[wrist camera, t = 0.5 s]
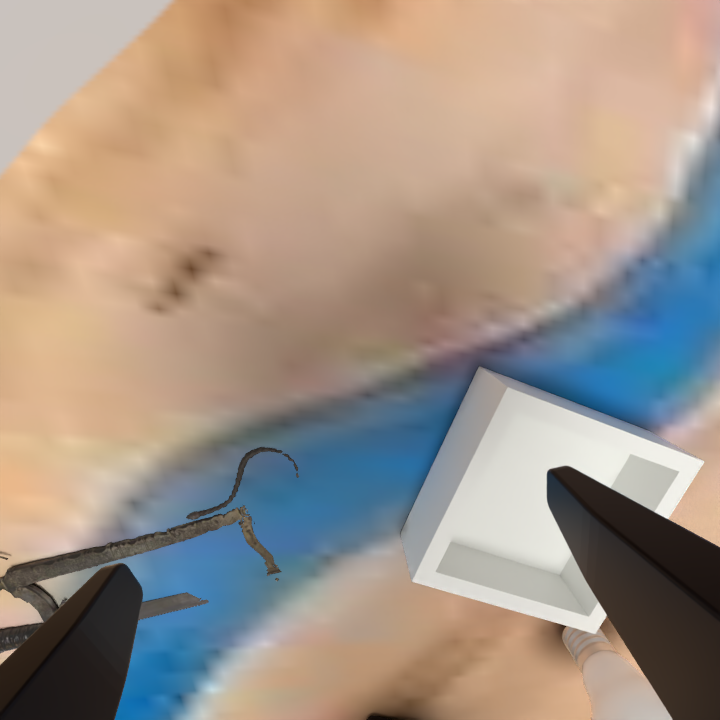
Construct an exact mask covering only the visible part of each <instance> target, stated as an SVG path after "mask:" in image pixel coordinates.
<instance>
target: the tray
mask: <svg viewBox="0 0 720 720" xmlns="http://www.w3.org/2000/svg"><path fill="white" fill-rule="evenodd" d="M704 462H705V461H703V460H701V459H699V458H697V457H696V456H694V455H692V454H690V453H688V452H686V451H685V450H683V449H681V448H679V447H677V446H676V445H674V444H672V443H670V442H668V441H666V440H665V439H663V438H661V437H659V436H657V435H656V434H654V433H652V432H650V431H648V430H646V429H643V428H641V427H638V426H635V425H633V424H630V423H627V422H625V421H622V420H620V419H617V418H614V417H612V416H609V415H606V414H604V413H601V412H599V411H596V410H593V409H591V408H588V407H585V406H583V405H580V404H578V403H575V402H572V401H570V400H567V399H565V398H562V397H559V396H557V395H554V394H551V393H549V392H546V391H544V390H541V389H538V388H536V387H533V386H530V385H528V384H525V383H523V382H520V381H517V380H515V379H512V378H509V377H507V376H504V375H502V374H499V373H496V372H494V371H491V370H489V369H486V368H483V367H481V366H479V367H478V369H477V371H476V374H475V376H474V378H473V380H472V382H471V384H470V386H469V388H468V391H467V393H466V395H465V397H464V399H463V401H462V403H461V405H460V408H459V410H458V412H457V414H456V416H455V418H454V420H453V422H452V425H451V427H450V429H449V431H448V433H447V435H446V437H445V439H444V442H443V444H442V446H441V448H440V450H439V452H438V454H437V456H436V459H435V461H434V463H433V465H432V467H431V469H430V471H429V473H428V476H427V478H426V480H425V482H424V484H423V486H422V488H421V490H420V493H419V495H418V497H417V499H416V501H415V503H414V505H413V507H412V509H411V512H410V514H409V516H408V518H407V520H406V522H405V524H404V526H403V529H402V531H401V533H400V535H401V539H402V543H403V548H404V552H405V556H406V560H407V564H408V568H409V573H410V577H411V581H412V582H414V583H418V584H421V585H425V586H429V587H432V588H436V589H439V590H443V591H446V592H450V593H453V594H457V595H460V596H464V597H467V598H471V599H474V600H478V601H481V602H485V603H488V604H492V605H495V606H499V607H502V608H506V609H509V610H513V611H516V612H520V613H523V614H527V615H530V616H534V617H537V618H541V619H544V620H548V621H551V622H555V623H558V624H562V625H565V626H569V627H572V628H576V629H579V630H583V631H586V632H590V633H593V634H596V632H597V630H598V629H599V627H600V626H601V624H602V623H603V621H604V619H605V618H606V616H607V614H606V613H605V611H604V610H603V608H602V607H601V605H600V603H599V602H598V600H597V599H596V597H595V595H594V594H593V592H592V590H591V589H590V587H589V585H588V584H587V582H586V580H585V578H584V577H583V575H582V573H581V571H580V569H579V567H578V565H577V563H576V561H575V559H574V557H573V555H572V553H571V551H570V549H569V547H568V545H567V543H566V541H565V539H564V537H563V535H562V533H561V531H560V529H559V527H558V525H557V523H556V521H555V519H554V517H553V515H552V513H551V511H550V509H549V506H548V503H547V471H548V470H549V469H551V468H556V467H560V466H570V467H572V468H574V469H576V470H578V471H580V472H582V473H584V474H585V475H587V476H589V477H591V478H593V479H595V480H597V481H598V482H600V483H602V484H604V485H606V486H608V487H609V488H611V489H613V490H615V491H617V492H619V493H621V494H622V495H624V496H626V497H628V498H630V499H632V500H633V501H635V502H637V503H639V504H641V505H643V506H645V507H646V508H648V509H650V510H652V511H654V512H656V513H657V514H659V515H661V516H663V517H665V518H667V519H668V518H669V517H670V515H671V514H672V512H673V510H674V509H675V507H676V506H677V504H678V503H679V501H680V499H681V498H682V496H683V495H684V493H685V492H686V490H687V488H688V487H689V485H690V484H691V482H692V480H693V479H694V477H695V476H696V474H697V473H698V471H699V469H700V468H701V466H702V465H703V463H704Z"/></svg>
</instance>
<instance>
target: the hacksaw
mask: <svg viewBox="0 0 720 720" xmlns="http://www.w3.org/2000/svg"><path fill="white" fill-rule="evenodd" d="M267 451H271V452H277V453H282V451H281V450H277V449H274V448H265V447H260V448H257V449H254V450H251V451H250V452H248V453H246V455H245V457H243V458H242V460H241V462H240V465H239V468H238V473H237V478H236V484H235V485H234V489H233V491H232V495H230V496H229V500H227V501H225V502H224V503H222V504H220V505H219V506H217V507H213V508H210V509H207V510H203V511H199V512H192V513H190V514H189V515H188V516H187V517H186V518H188V519H192V520H193V519H198V518H199V517H200V516H204V515H206V514H209V513H212V512H214V511H216V510H219V509H221V508H222V507H223V508H224V507H226V506H227V504H229V503H230V502H231V501H232V500H233V498H234V497H235V494H236V492H237V491H238V487H239V485H240V481H241V480H242V475H243V472H244V468H245V465H246V463H247V461H248V460H249V459H250V458H252V457H253V456H254V455H256V454H258V453H260V452H267ZM283 455H284V456H286V457H288V460H290V461H293V462H294V460H293V459H291V458H290V457H289V455H288V454H283ZM294 467H295V469H296V471H298V467H297V465H296V463H295V462H294ZM296 476H297V478H298V477H299V476H298V473H297V474H296ZM243 508H244V510H243ZM245 510H246V508H245V505H243V507H240V510H239V509H238V508H236V509H232V511H229V512H227V513H226V514H224V515H222V514H218V515H214V516H213V517H209V518H205V519H201V520H197V521H193V522H190V523H186V524H183V525H179V526H176V527H174V528H171V530H170V529H169V528H168V529H167V532H155V533H154V534H148V535H144V536H140V537H137V538H136V539H126V540H123V541H119V542H116V543H111V542H110V543H108V544H107V545H106V546H102V547H94V548H90V549H84V550H81V551H77V552H74V553H68V554H66V555H61V556H57V557H54V558H49V559H44V560H40V561H35V562H31V563H28V564H24V565H20V566H14V567H13V568H9V569H8V570H7V572H6V574H5V576H4V577H3V578H2V579H0V590H2V589H4V590H6V591H8V592H10V593H11V594H12V595H13V596H14V598H21V599H22V600H24V601H26V602H27V603H28V602H29V603H30V604H31V605H32V606H33V607H34V608H35V609H36V610H37V611H38V612H39V614H40V616H41V617H42V619H43V621H44V622H46V621H47V620H48V619H49V618H50V617H51V616H52V615H53V614H54V613H55V612H56V611H57V610H58V608H57V606H56V604H55V603H54V601H53V600H52V599H51V598H50V597H49V596H48V595H47V594H46V593H44V592H43V591H42V590H41V589H39V588H38V587H36V586H34V585H32V583H35V582H38V581H42V580H45V579H49V578H53V577H57V576H60V575H64V574H68V573H72V572H75V571H80V570H83V569H86V568H91V567H93V566H98V565H100V564H104V563H108V562H111V561H114V560H118V559H122V558H126V557H129V556H133V555H136V554H142V553H144V552H147V551H151V550H155V549H158V548H161V547H164V546H167V545H171V544H174V543H178V542H181V541H185V540H187V539H191V538H194V537H197V536H199V535H202V534H204V533H206V532H208V531H213V530H217V529H219V528H220V527H222V526H226V525H231V524H233V523H234V522H236V521H237V520H241V521H240V522H239V525H241V528H243V530H242V532H243V534H244V537H245V539H246V542H247V543H248V544H249V545H250V546H251V547H252V548H253V549H254V550H255V551H257V552H258V553H259V554H260V555H261V556H262V557H263V558H264V559H265V560H266V562H265V565H266V566H267V568H268V569H267V571H268V573H267V576H269V575H270V574H274V573H279V572H281V571H280V570H279V568H276V567H277V566H278V565H276V564H274V560H273V556H272V555H271V554H270V553H269V552H268V551H267V550H266V549H265V548H264V547H263V546H262V545H261V544H260V543H259V542H258V540H257V538H256V537H255V535H254V532H253V528H252V525H251V524H252V517H251V516H249V515H250V514H246V513H245ZM241 513H242V514H243V515H242V514H241ZM247 513H248V510H247ZM245 516H249V517H245ZM242 517H243V520H244V521H243V522H242ZM241 522H242V523H241ZM243 523H244V524H243ZM254 524H255V523H254ZM0 558H3V559H6V560H7V559H8V558H5V557H1V556H0ZM273 565H274V566H275V567H274V566H273ZM275 580H276V581H278V580H279V579H278V578H276V579H275ZM200 599H201V598H200ZM200 599H199V598H197V597H195V596H193V595H191V594H189V593H187V592H186V593H182V594H177V595H173V596H168V597H164V598H159V599H155V600H150V601H146V602H142V604H141V609H140V614H139V619H138V620H140V619H143V618H145V619H146V618H147V617H148V618H149V617H153V616H156V615H160V614H161V615H162V614H165V613H169V612H172V611H173V612H174V611H178V610H181V609H185V608H186V609H187V608H190V607H194V606H197V605H199V606H200V605H202V604H206V603H208V600H201V601H200ZM64 603H65V602H64V601H63V600H62V602H61V604H60V607H61V606H62V605H63V604H64ZM60 607H59V608H60ZM42 624H43V623H39V624H32V625H26V626H20V627H13V628H7V629H0V653H2V652H4V651H7V650H12V649H16V648H18V647H19V646H21V645H22V644H23V643H24V642H25V641H26V640H27V639H28V638H29V637H30V636H31V635H32V634H33V633H34V632H35V631H36V630H37V629H38V628H39V627H40V626H41V625H42Z"/></svg>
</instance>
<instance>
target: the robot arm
mask: <svg viewBox="0 0 720 720" xmlns="http://www.w3.org/2000/svg"><path fill="white" fill-rule="evenodd" d="M547 503H548V506H549V509H550V511H551V513H552V515H553V517H554V519H555V521H556V523H557V525H558V527H559V529H560V531H561V533H562V535H563V537H564V539H565V541H566V543H567V545H568V547H569V549H570V551H571V553H572V555H573V557H574V559H575V561H576V563H577V565H578V567H579V569H580V571H581V573H582V575H583V577H584V578H585V580H586V582H587V584H588V585H589V587H590V589H591V590H592V592H593V594H594V595H595V597H596V599H597V600H598V602H599V603H600V605H601V607H602V608H603V610H604V611H605V613H606V614H607V616H608V618H609V619H610V621H611V622H612V624H613V626H614V627H615V629H616V630H617V632H618V634H619V635H620V637H621V638H622V640H623V641H624V643H625V645H626V646H627V648H628V649H629V651H630V653H631V654H632V656H633V657H634V659H635V660H636V662H637V664H638V665H639V667H640V668H641V670H642V672H643V673H644V675H645V676H646V678H647V680H648V681H649V683H650V684H651V686H652V687H653V689H654V691H655V692H656V694H657V695H658V697H659V699H660V700H661V702H662V703H663V705H664V707H665V708H666V710H667V711H668V713H669V714H670V716H671V718H672V719H673V720H720V547H718V546H717V545H715V544H713V543H711V542H709V541H707V540H706V539H704V538H702V537H700V536H698V535H696V534H694V533H693V532H691V531H689V530H687V529H685V528H683V527H682V526H680V525H678V524H676V523H674V522H672V521H670V520H669V519H667V518H665V517H663V516H661V515H659V514H657V513H656V512H654V511H652V510H650V509H648V508H646V507H645V506H643V505H641V504H639V503H637V502H635V501H633V500H632V499H630V498H628V497H626V496H624V495H622V494H621V493H619V492H617V491H615V490H613V489H611V488H609V487H608V486H606V485H604V484H602V483H600V482H598V481H597V480H595V479H593V478H591V477H589V476H587V475H585V474H584V473H582V472H580V471H578V470H576V469H574V468H572V467H570V466H560V467H556V468H551V469H549V470H548V471H547ZM142 599H143V592H142V587H141V585H140V584H139V582H138V581H137V579H136V578H135V576H134V575H133V574H132V572H131V571H130V569H129V568H128V566H127V565H125V564H123V563H118V564H114V565H109V566H105V567H103V568H101V569H100V570H99V571H98V572H96V573H95V574H94V575H93V576H92V577H91V578H90V579H89V580H88V581H87V582H86V583H85V584H84V585H83V586H82V587H81V588H80V589H79V590H78V591H77V592H76V593H75V594H74V595H73V596H72V597H70V598H69V599H68V600H67V601H66V602H65V603H64V604H63V605H62V606H61V607H60V608H59V609H58V610H57V611H56V612H55V613H54V614H53V615H52V616H51V617H50V618H49V619H48V620H47V621H46V622H44V623H43V624H42V625H41V626H40V627H39V628H38V629H37V630H36V631H35V632H34V633H33V634H32V635H31V636H30V637H29V638H28V639H27V640H26V641H25V642H24V643H23V644H22V645H21V646H19V647H18V648H17V649H16V650H15V651H14V652H13V653H12V654H11V655H10V656H9V657H8V658H7V659H6V660H5V661H4V662H3V663H2V664H1V665H0V720H114V719H115V716H116V712H117V709H118V706H119V702H120V699H121V695H122V692H123V688H124V684H125V681H126V676H127V672H128V668H129V663H130V658H131V653H132V648H133V644H134V639H135V634H136V629H137V624H138V619H139V614H140V609H141V604H142ZM367 720H391V719H387V718H383V717H378V716H371V717H369V718H368V719H367Z"/></svg>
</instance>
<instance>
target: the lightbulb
mask: <svg viewBox="0 0 720 720" xmlns="http://www.w3.org/2000/svg"><path fill="white" fill-rule="evenodd" d="M562 640H563V642H564V644H565V646H566V648H567V649H568V651H569V653H570V654H571V655H572V658H573V659H574V661H575V662H576V664H577V666H578V667H579V670H580V671H581V673H582V678H583V683H584V686H585V689H586V692H587V694H588V697H589V700H590V704H591V720H673V719H672V718H671V716H670V714H669V713H668V711H667V710H666V708H665V707H664V705H663V703H662V702H661V700H660V699H659V697H658V695H657V694H656V692H655V691H654V689H653V687H652V686H651V684H650V683H649V681H648V680H647V678H646V676H644V675H643V674H642V673H641V672H639V671H638V670H637V669H636V668H635V667H634V666H633V665H632V664H631V663H630V662H629V661H628V660H627V659H626V658H624V657H623V656H621V655H619V654H618V652H617V651H616V650H615V648H614V647H613V646H612V645H611V643H610V641H609V640H607V637H606V636H605V635H604V634H603V632H602V630H601V629H600V628H599V629H598V630H597V632H596V634H593V633H590V632H586V631H583V630H579V629H576V628H572V627H569V626H566V627H565V629H564V631H563V634H562Z"/></svg>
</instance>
